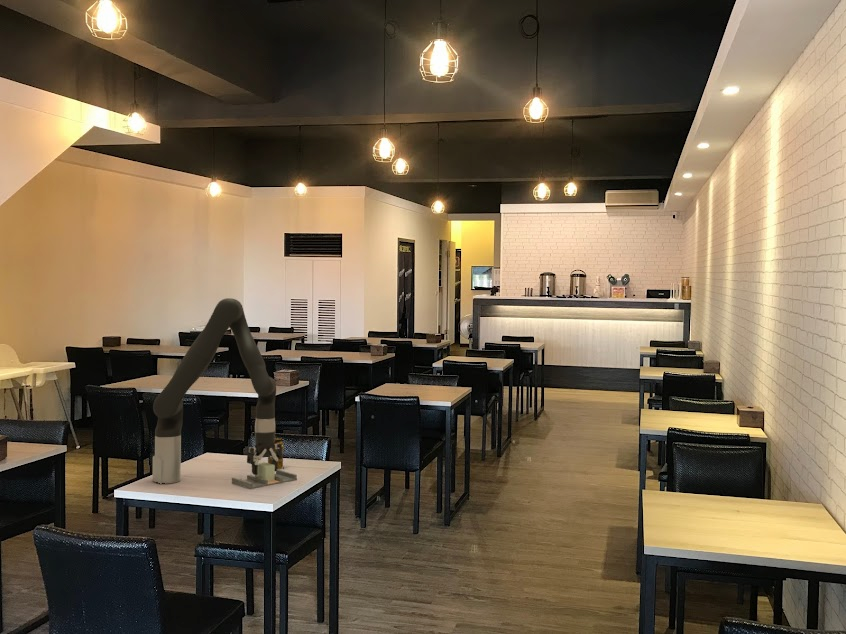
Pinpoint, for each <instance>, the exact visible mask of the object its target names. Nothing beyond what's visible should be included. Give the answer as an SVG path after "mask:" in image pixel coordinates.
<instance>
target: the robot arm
mask: <svg viewBox="0 0 846 634" xmlns="http://www.w3.org/2000/svg"><path fill="white" fill-rule="evenodd" d="M229 328H230V331H231V333H232V334H233V336H234V338H235V341H236V345H237V349H238V351H239V355H240V357H241V360H242V362H243V365H244V367H245V368H246V371H247V372H248V375H249V378H250V380H251V384H252V387H253V390H254V391H255V393H256V394H257V403H256V406H255V420H254V421H255V423H254V443H255V446H254V447H251V446H248V447H247V454H246V464H250V465H251V474H252V475H253V476H255V475H257V474H258V465H257V464H258V463H260V461H261V460H262V459H263V458H266V457H267V458H268V457H271V459H272V460H273V461H272V464H273V465H275V472H276V471H277V470H278V469H277V468H278V467H277V465H278V460H279V459H282V445H283V443H282V444H280V443H276V444H274V442H275V438H276V421H275V420H276V417H275V415H276V413H275V412H276V410H275V409H276V407H275V404H276V403H275V402H276V396H277V383H276V381H275V379H274V378H273V377H271V376H269V374H268V372H267V369H266V368H267V367H266V366H267V365H266V363H265V360H264V358H263V356H262V354H261V351H260V349H259V347H258V346H257V343H256V342H255V339H254V337H253V335H252V333H251V330H250V328H249V325H248V322H247V318H246V315H245V311H244V307H243V305H242V303H241V302H240V301H239V300H237V299H235V298H231V297H230V298H223V299H221V300H220V301H218V303H217V304H216V305H215V307H214V309H213V312H212V313H211V316H210V317H209V319H208V321H207V323H206V325H205V327H204V328H203V329H202V330H201V332H200V333H199V335H198V336H197V337H196V339H194V341H193V343H191V346H189V348H188V350H187V351H186V353H185V355H184V356H183V357H182V359H181V361H180V363H179V364H178V366H177V368H176V370H175V371H174V374H173V376H172V377H171V379H170V380H169V382H168V383H167V384H166V386H165V387H164V388H163V389H162V391H161V392H160V393H159V395H158V396H156V398H155V399H154V401H153V405H152V410H153V413H154V415H155V417H157V424H156V427H155V430H154V455H153V456H152V480H151V481H152V482H153V481H155V482H154V483H156V482H158V483H157V484H159V483H160V484H159V485H161V484H162V483H165V484H174V483H178V482H180V481H181V479H182V478H181V474H182V473H181V472H182V471H181V468H182V467H181V466H182V465H181V464H182V460H181V459H182V449H181V448H182V428H183V419H184V418H183V417H184V405H183V404H184V403H183V399H184V397H185V396H186V394H187V393H188V391H189V390H190V388H191V387H192V386H193V385H194V383H196V382H197V381H198V380H199V378H200V377H201V376H202V375H203V373H205V371H206V370H207V368H208V367H209V366H210V364H211V362H212V360H213V359H214V357H215V355H216V353H217V351H218V348H219V346H220V344H221V343H220V342H221V340H222V339H223V337H224V335H225V334H226V332H227V331H228V330H229ZM274 449H276V454H275V453H274Z"/></svg>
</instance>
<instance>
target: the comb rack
mask: <svg viewBox="0 0 846 634" xmlns="http://www.w3.org/2000/svg"><path fill="white" fill-rule="evenodd" d="M292 481H297V474H295V473H292V472H288V471H284V470H282V469H277V471H275V481H271V482H268V480H265V479H262V478H259V477H255V475H253V474H252V475H251V474H246V479H245V478H244V479H240V478H237V477H231V484H232V485H237V486H239V487H243V488H245V489H249V490H252V489H258V488H262V487H267V486H273V485H278V484H283V483H287V482H288V483H289V482H292Z"/></svg>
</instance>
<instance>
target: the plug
mask: <svg viewBox="0 0 846 634" xmlns="http://www.w3.org/2000/svg"><path fill="white" fill-rule="evenodd" d="M257 465H258V474H257V475H254V476H255V477H259V478H262V479H265V480H268V482H271V481H275V474H276V471H275V465H273V464H269V463H268V462H265V461H262V462H258V464H257Z"/></svg>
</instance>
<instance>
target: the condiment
mask: <svg viewBox="0 0 846 634" xmlns="http://www.w3.org/2000/svg"><path fill="white" fill-rule="evenodd" d="M276 443H280V444H282V459H279V460H278V465H277V467H278V468H277V470H281V469H280V468H283V467H284V445H283V438H282V437H275V442H274V444H276ZM274 453H275V454H276V449H274ZM272 461H273V460H272V459H271V457H267V463H269V464H272Z"/></svg>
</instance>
